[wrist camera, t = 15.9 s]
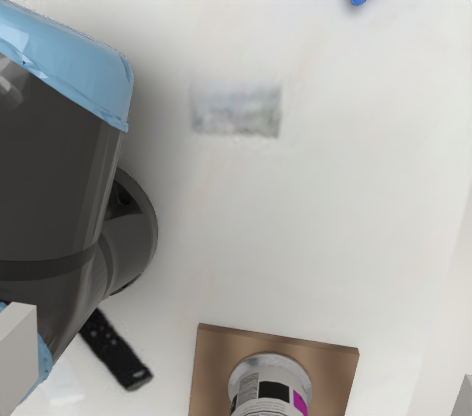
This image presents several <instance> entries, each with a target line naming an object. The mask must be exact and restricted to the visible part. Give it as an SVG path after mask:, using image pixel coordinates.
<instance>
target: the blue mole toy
mask: <svg viewBox="0 0 472 416" xmlns="http://www.w3.org/2000/svg"><path fill="white" fill-rule="evenodd" d="M365 1H366V0H351V2H352V4H353V5H356V6H358V5H361V4H363V3H364V2H365Z"/></svg>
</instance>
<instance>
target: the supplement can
mask: <svg viewBox="0 0 472 416" xmlns="http://www.w3.org/2000/svg"><path fill="white" fill-rule="evenodd" d="M229 416H308V410H307V398H306V390H305V388H304V386H303V384H302V382H301V381H300V380H299V379H298V378H297V377H296V376H295V375H294V374H292V373H291V372H289V371H287V370H284V369H282V368H280V367H273V366H262V367H257V368H252V369H251V370H249V371H247V372H245V373H244V374H242V375H241V377H240V378H239V379H238V380H237V381H236V383H235V386H234V389H233V393H232V400H231V407H230V414H229Z"/></svg>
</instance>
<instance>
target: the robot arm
mask: <svg viewBox="0 0 472 416" xmlns="http://www.w3.org/2000/svg"><path fill="white" fill-rule="evenodd" d="M133 86H134V75H133V71H132V68H131V66H130V64H129V62H128V61H127V59H126V58H125V57H124V56H123V55H122V54H121V53H120V52H118V51H117V50H115V49H113V48H111V47H110V46H108V45H106V44H104V43H102V42H100V41H98V40H95V39H93V38H91V37H89V36H87V35H85V34H83V33H81V32H78V31H76V30H74V29H72V28H70V27H67V26H65V25H63V24H61V23H58V22H56V21H54V20H52V19H49V18H47V17H45V16H43V15H40V14H38V13H36V12H34V11H31V10H29V9H27V8H25V7H22V6H20V5H18V4H16V3H13V2H11V1H9V0H0V416H10V415H11V414H12V412H13V411H14V410H15V408H16V407H17V406H18V405H20V404H21V403H22V402H23V401H24V400H25V399H26V398H27V397H28V396H29V395H30V394H31V393H32V391H33V390H34V389H35V388H36V387H37V386H38V385H39V384H40V383H42V382H43V381H44V380H46V379H47V377H48V376H49V373H50V372H51V370H52V367H53V365H54V364H55V363H56V361H57V360H58V359H59V357H60V356H61V355H62V353H63V352H64V350H65V349H66V348H67V346H68V345H69V344H70V342H71V341H72V340H73V338H74V337H75V335H76V334H77V333H78V331H79V330H80V329H81V327H82V326H83V325H84V323H85V322H86V321H87V319H88V318H89V316H90V315H91V314H92V312H93V311H94V310H95V308H96V307H97V305H98V304H99V303H100V301H102V300H104V299H106V298H108V297H109V296H111V295H114V294H116V293H119V292H121V291H123V290H124V289H126V288H127V287H129V286H130V285H131V284H133V283H134V282H135V281H136V280H137V279H138V278H139V277H140V276H141V274H142V273H143V272H144V270H145V269H146V267H147V265H148V264H149V262H150V261H151V259H152V257H153V254H154V252H155V249H156V244H157V237H158V228H157V221H156V216H155V213H154V210H153V207H152V205H151V203H150V201H149V199H148V197H147V195H146V194H145V192H144V191H143V190H142V188H141V187H140V186H139V185H138V184H137V183H136V182H135V181H134V180H133V179H132V178H131V177H130V176H129V175H128V174H126V173H125V172H123V171H122V170H120V169H119V168H117V163H118V159H119V155H120V151H121V147H122V142H123V138H124V134H125V133H128V130H129V126H128V123H127V118H128V113H129V107H130V102H131V97H132V91H133ZM451 416H472V375H467V374H466V375H465V377H464V380H463V383H462V385H461V388H460V391H459V394H458V397H457V400H456V402H455V405H454V408H453V411H452V414H451Z"/></svg>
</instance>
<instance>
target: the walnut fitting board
mask: <svg viewBox="0 0 472 416" xmlns="http://www.w3.org/2000/svg"><path fill="white" fill-rule="evenodd" d="M261 351H276V352H281V353H284V354H287V355H289V356H291V357H293V358H295V359H296V360H297V361H299V362H300V363H301V364H302V365H303V366H304V367H305V369H306V370H307V372H308V373H309V375H310V378H311V383H312V400H311V403H310V406H309V408H308V409H307V410H308V416H344V415H345V411H346V407H347V403H348V399H349V395H350V391H351V387H352V383H353V379H354V375H355V371H356V367H357V363H358V359H359V351H358V348H352V347H346V346H339V345H333V344H327V343H321V342H314V341H308V340H302V339H295V338H289V337H283V336H276V335H270V334H264V333H258V332H251V331H245V330H239V329H232V328H226V327H220V326H213V325H207V324H201V323H199V327H198V331H197V340H196V350H195V359H194V369H193V378H192V388H191V397H190V407H189V416H229V414H230V407H231V401H230V398H229V394H228V384H229V378H230V374H231V372H232V370H233V368H234V366H235V365H236V364H237V363H238V362H239V361H240V360H241V359H243V358H244V357H246V356H248V355H250V354H253V353H256V352H261Z"/></svg>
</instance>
